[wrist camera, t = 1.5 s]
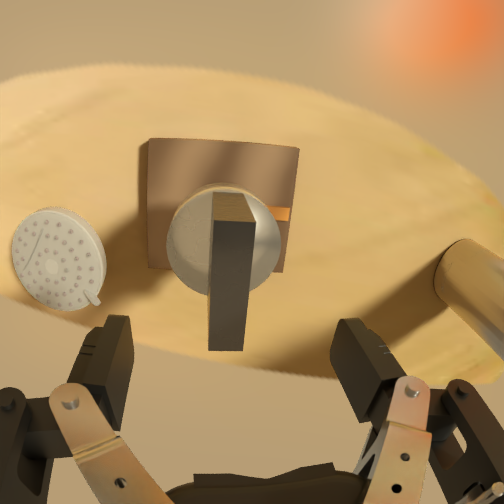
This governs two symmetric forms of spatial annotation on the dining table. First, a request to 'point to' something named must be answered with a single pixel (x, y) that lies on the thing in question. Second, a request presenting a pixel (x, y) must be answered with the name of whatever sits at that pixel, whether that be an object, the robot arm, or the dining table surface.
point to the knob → (223, 254)
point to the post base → (215, 171)
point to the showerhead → (59, 259)
